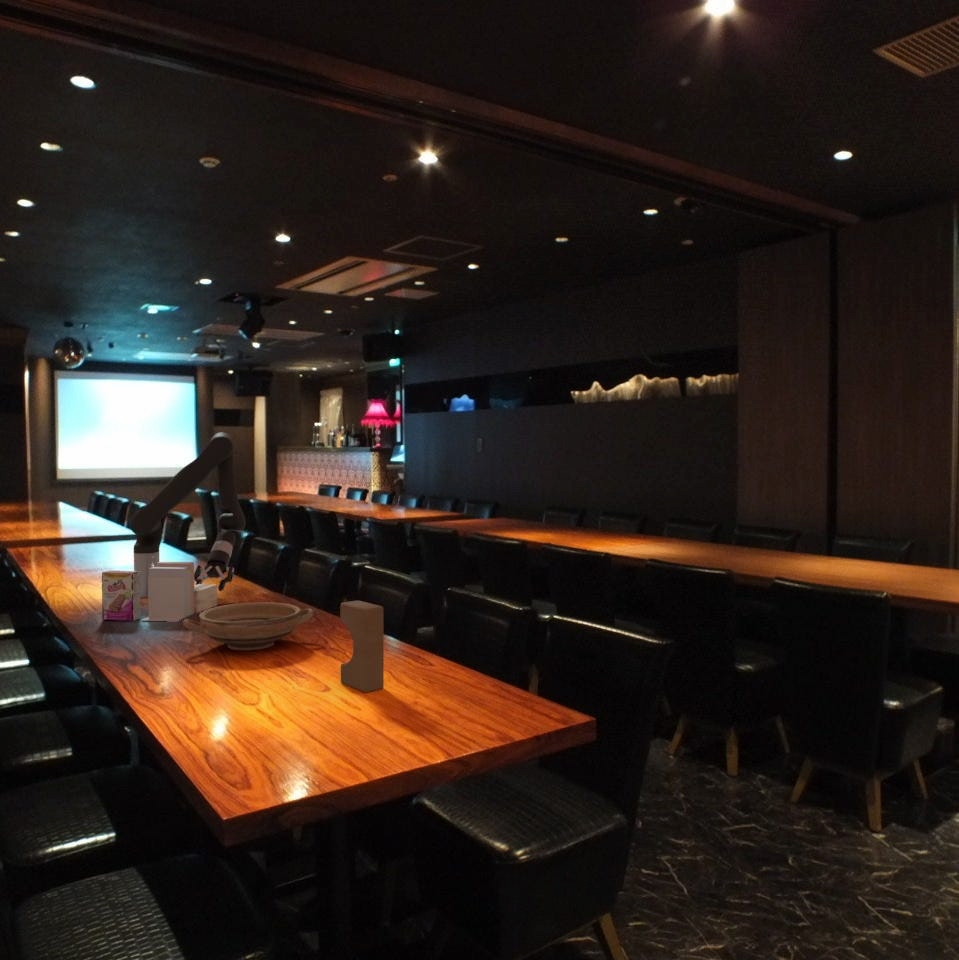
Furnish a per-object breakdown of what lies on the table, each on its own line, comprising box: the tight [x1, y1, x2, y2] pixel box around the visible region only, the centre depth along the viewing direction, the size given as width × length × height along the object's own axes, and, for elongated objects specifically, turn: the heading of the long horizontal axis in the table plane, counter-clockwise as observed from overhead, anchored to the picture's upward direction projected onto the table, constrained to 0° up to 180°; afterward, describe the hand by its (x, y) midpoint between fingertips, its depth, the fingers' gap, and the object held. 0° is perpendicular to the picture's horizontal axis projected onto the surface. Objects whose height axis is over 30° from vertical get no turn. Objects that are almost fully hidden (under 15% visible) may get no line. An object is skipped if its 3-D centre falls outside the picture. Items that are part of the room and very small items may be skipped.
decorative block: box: [339, 600, 385, 694], centre depth 191 cm, size 11×6×20 cm, turn 42°
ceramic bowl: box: [182, 601, 314, 652], centre depth 231 cm, size 37×29×10 cm
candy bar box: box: [101, 569, 141, 622], centre depth 264 cm, size 11×5×16 cm, turn 84°
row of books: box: [141, 561, 196, 623], centre depth 268 cm, size 12×14×18 cm
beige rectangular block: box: [194, 583, 218, 614], centre depth 282 cm, size 7×14×8 cm, turn 171°
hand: (208, 589), depth 292 cm, fingers open, 8 cm apart
